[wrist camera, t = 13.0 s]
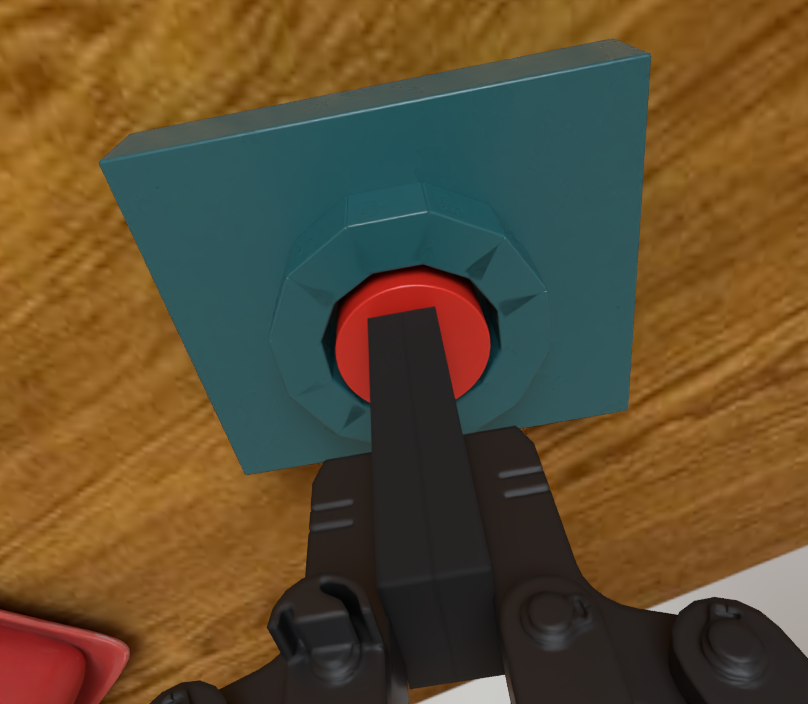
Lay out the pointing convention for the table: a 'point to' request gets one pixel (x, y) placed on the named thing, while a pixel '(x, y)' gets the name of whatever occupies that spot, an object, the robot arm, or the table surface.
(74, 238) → the table surface
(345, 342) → the button
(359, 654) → the robot arm
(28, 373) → the table surface
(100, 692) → the butter dish
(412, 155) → the button box
